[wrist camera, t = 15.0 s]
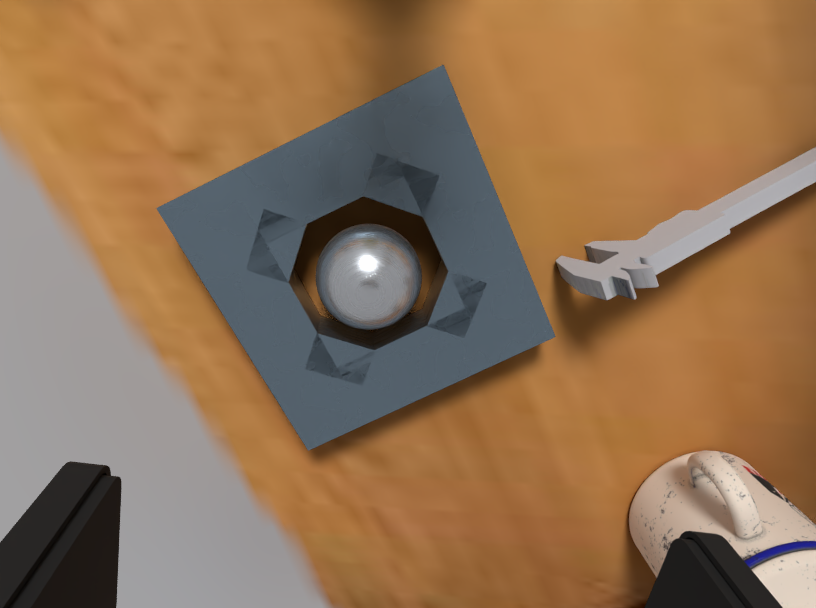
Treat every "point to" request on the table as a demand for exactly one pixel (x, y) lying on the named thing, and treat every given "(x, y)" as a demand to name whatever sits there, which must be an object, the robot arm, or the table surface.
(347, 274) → the steel ball
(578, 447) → the table surface
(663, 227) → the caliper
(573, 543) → the table surface
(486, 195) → the housing plate
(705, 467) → the teacup with lid
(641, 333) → the table surface
